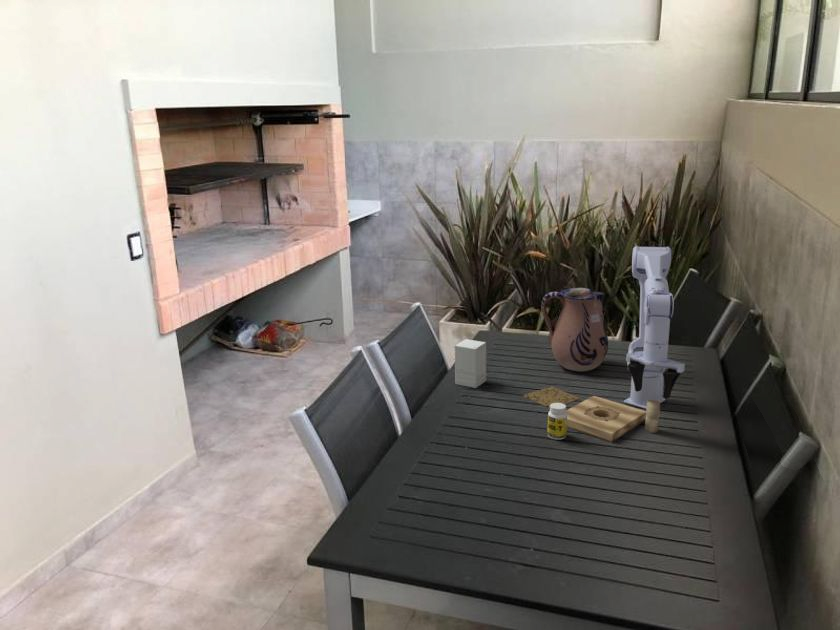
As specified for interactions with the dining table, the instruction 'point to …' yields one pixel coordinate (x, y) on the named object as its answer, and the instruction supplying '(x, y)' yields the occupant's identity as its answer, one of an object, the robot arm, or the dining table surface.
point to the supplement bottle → (557, 421)
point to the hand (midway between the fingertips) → (652, 393)
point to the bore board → (604, 418)
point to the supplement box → (470, 363)
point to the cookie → (551, 396)
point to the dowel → (652, 416)
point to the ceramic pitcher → (578, 329)
